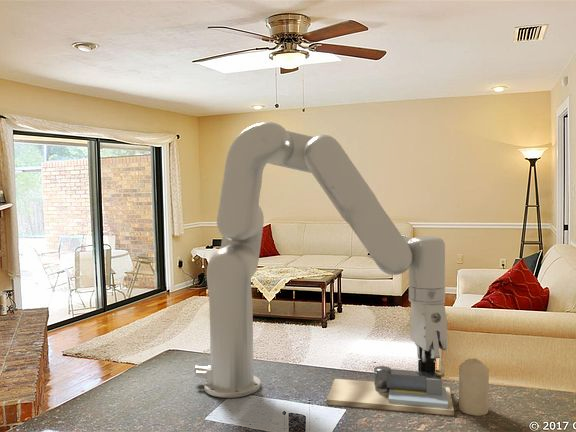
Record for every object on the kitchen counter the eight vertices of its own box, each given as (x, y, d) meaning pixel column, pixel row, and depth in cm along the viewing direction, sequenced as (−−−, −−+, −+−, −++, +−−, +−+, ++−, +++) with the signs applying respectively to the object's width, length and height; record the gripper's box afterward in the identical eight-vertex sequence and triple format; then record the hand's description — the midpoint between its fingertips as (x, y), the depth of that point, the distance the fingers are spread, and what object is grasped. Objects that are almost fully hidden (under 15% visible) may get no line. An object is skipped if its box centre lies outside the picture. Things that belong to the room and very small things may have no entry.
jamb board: (326, 404, 105) (326, 399, 105) (334, 383, 117) (334, 378, 117) (453, 415, 99) (453, 410, 99) (449, 392, 111) (449, 387, 111)
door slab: (388, 402, 103) (388, 383, 103) (390, 386, 112) (390, 368, 112) (448, 407, 100) (448, 387, 100) (445, 390, 109) (445, 372, 109)
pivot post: (374, 396, 109) (374, 388, 109) (375, 391, 112) (375, 382, 112) (390, 398, 108) (390, 389, 108) (390, 392, 111) (390, 383, 111)
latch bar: (373, 386, 109) (373, 368, 108) (375, 380, 112) (374, 363, 112) (444, 393, 105) (445, 374, 105) (444, 386, 108) (444, 368, 108)
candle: (490, 417, 99) (491, 365, 98) (460, 414, 100) (461, 364, 99) (485, 405, 104) (486, 356, 103) (457, 403, 105) (457, 355, 105)
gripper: (459, 300, 103) (459, 390, 104) (429, 287, 118) (429, 366, 119) (423, 302, 102) (423, 392, 103) (397, 288, 117) (398, 367, 118)
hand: (426, 378), depth 111 cm, fingers closed
